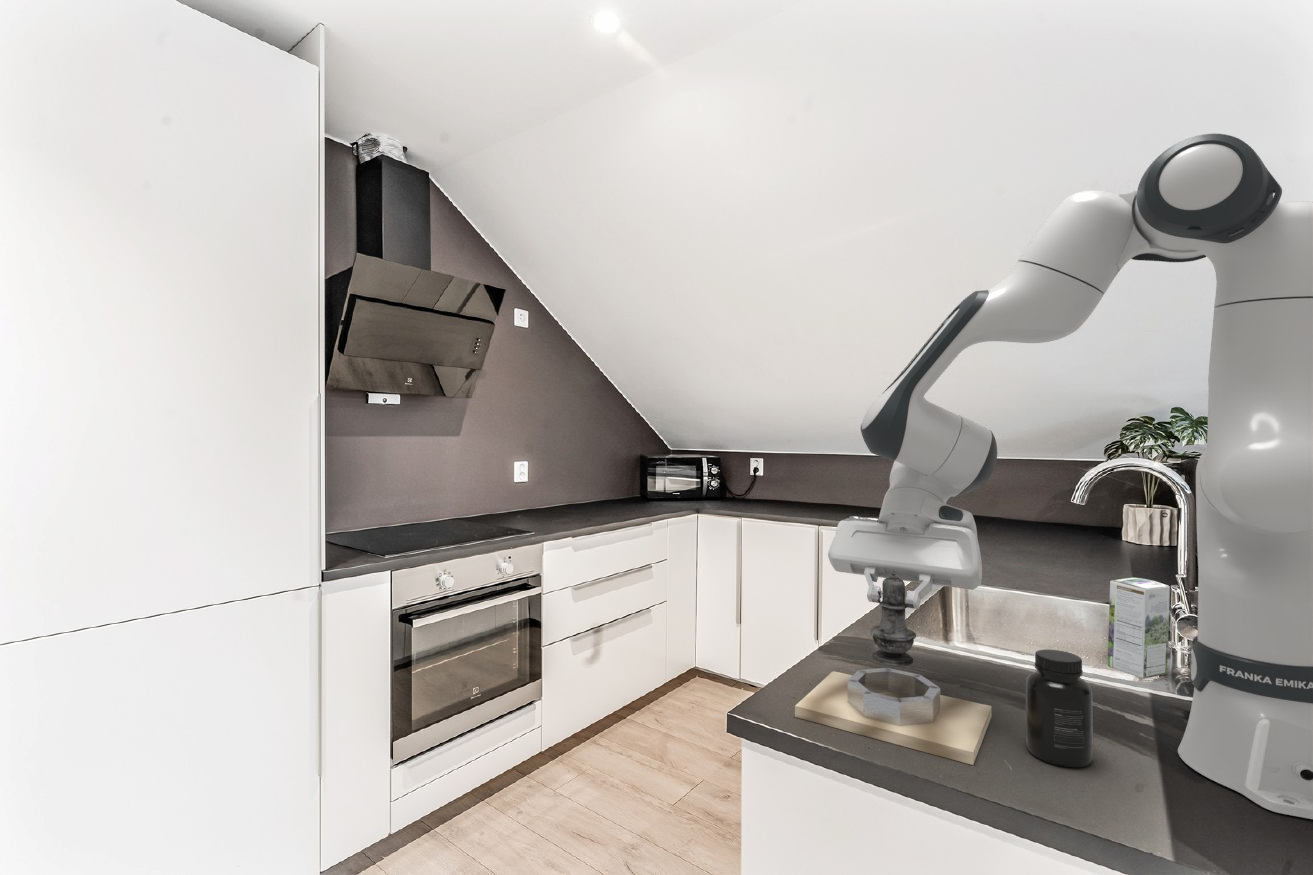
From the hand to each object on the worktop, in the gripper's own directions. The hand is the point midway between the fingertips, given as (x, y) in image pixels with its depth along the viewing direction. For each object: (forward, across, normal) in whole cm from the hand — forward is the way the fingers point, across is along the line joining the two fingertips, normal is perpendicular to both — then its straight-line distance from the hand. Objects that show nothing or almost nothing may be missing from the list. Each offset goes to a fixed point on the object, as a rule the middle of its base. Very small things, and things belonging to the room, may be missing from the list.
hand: (892, 603), depth 87 cm
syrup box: (-17, +28, +39) cm, 51 cm away
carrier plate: (+11, 0, +12) cm, 16 cm away
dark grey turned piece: (+5, 0, +6) cm, 8 cm away
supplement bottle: (+10, +19, +12) cm, 25 cm away
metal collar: (+10, 0, +10) cm, 14 cm away
